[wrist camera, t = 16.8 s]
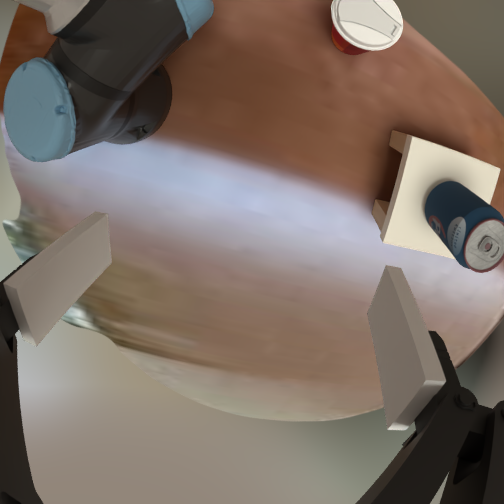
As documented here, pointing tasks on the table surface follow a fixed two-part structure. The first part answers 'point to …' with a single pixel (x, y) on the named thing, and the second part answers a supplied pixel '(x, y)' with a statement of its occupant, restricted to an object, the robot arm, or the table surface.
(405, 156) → the small white stool
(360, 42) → the paper cup
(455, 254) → the soda can
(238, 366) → the table surface
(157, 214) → the table surface
